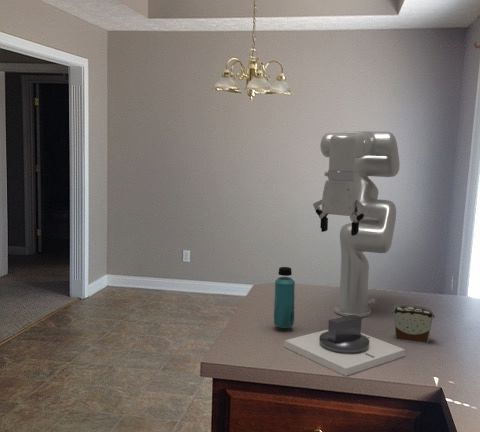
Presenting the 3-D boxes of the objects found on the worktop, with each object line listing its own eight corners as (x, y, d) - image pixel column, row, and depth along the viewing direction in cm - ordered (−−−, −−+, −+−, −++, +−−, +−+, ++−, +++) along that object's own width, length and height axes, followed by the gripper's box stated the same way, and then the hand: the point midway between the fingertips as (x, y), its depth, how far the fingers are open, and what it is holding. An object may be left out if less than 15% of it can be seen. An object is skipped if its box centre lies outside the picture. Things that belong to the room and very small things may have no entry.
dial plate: (341, 331, 178) (342, 325, 178) (404, 356, 159) (405, 349, 159) (284, 347, 164) (284, 340, 164) (345, 376, 145) (346, 368, 145)
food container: (433, 337, 175) (435, 306, 174) (432, 344, 169) (435, 312, 168) (392, 332, 179) (393, 301, 178) (390, 338, 173) (392, 307, 172)
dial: (343, 357, 152) (345, 330, 151) (309, 341, 163) (310, 315, 162) (379, 347, 160) (381, 321, 159) (344, 332, 171) (345, 308, 170)
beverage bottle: (292, 333, 176) (295, 270, 173) (271, 331, 177) (273, 269, 174) (294, 326, 182) (297, 266, 179) (274, 324, 184) (276, 264, 181)
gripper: (309, 175, 170) (307, 231, 172) (364, 179, 160) (361, 238, 163) (320, 173, 176) (318, 228, 179) (373, 177, 167) (370, 234, 169)
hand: (339, 233), depth 171 cm, fingers open, 9 cm apart
